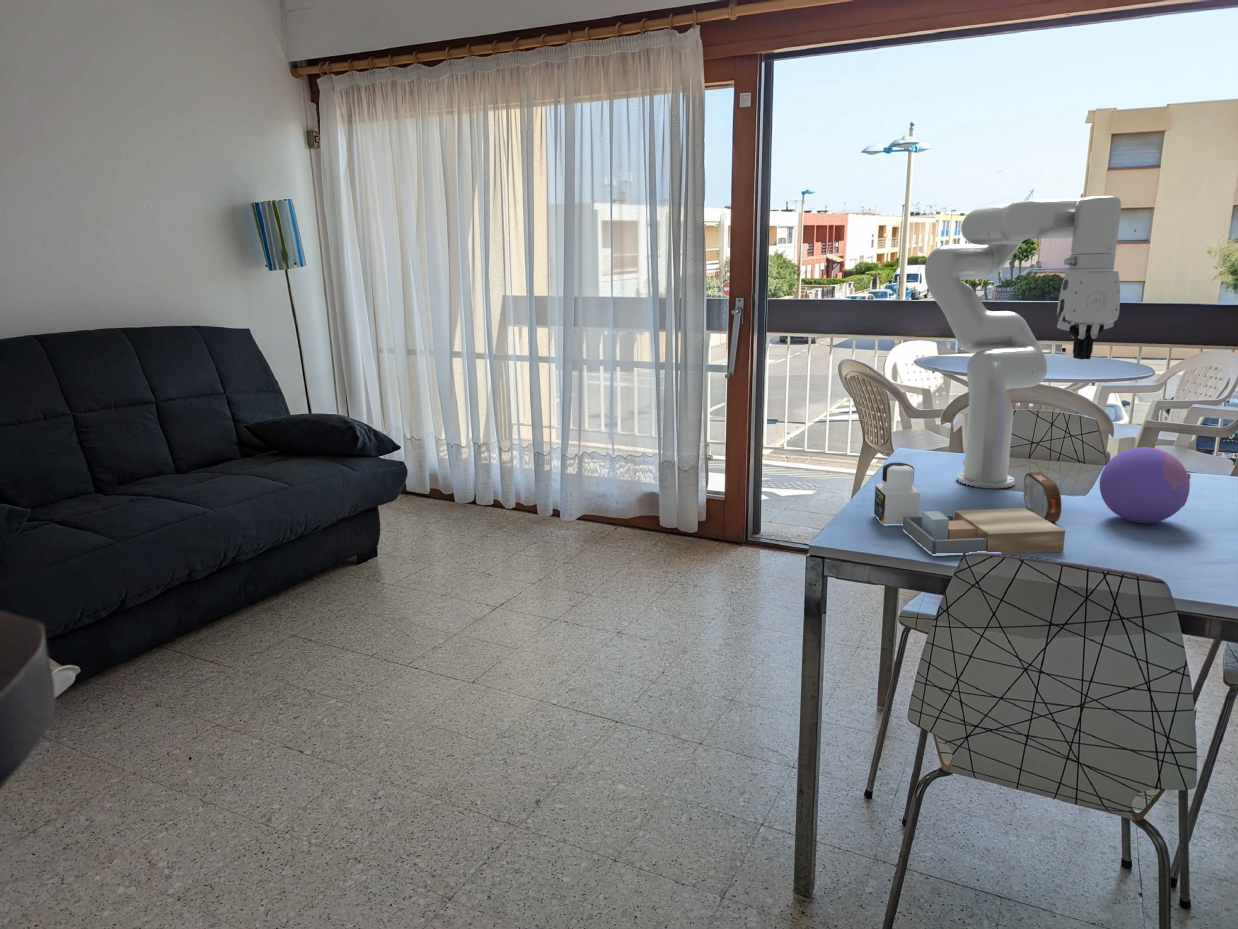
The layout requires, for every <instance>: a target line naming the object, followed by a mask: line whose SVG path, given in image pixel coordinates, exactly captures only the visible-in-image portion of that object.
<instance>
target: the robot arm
mask: <svg viewBox="0 0 1238 929" xmlns="http://www.w3.org/2000/svg"><path fill="white" fill-rule="evenodd" d="M1121 211H1122V201H1121V199H1120V197H1118V196H1116V195H1114V196H1113V195H1099V196H1087V197H1083V198H1077V197H1076V198H1040V199H1030V200H1024V201H1016V202H1011V203H1007V204H1006V203H1005V204H1001V205H991V206H984V207H979V208H976V209H975V210H972V211H971V212H969V213H968V214H967V215H966V216H965V217H964V218H963V220H962V223H961V225H960V226H961V227H960V230H961V234H962V236H963V238H964V239H965V240H966V241H967V242H968V243H959V244H958V243H957V244H955V243H953V244H948V245H947V244H946V245H943V246H940V247H937V248H935V249H934V250H932V251H931V252H930V253H929V255H928V256H927V258H926V260H925V266H924V277H925V284H926V287H927V289H928V291H929V293H930V295H931V297H932V298H933V300H934V301H935V302H936V304H937V305H938V307H939V308H940V309H941V311H942V312H943V314H944V316H945V318H946V322H947V323H948V325H949V327H950V329H951V331H952V333H953V334H954V337H955V340H957V343H958V344H959V346H960V348H961V349H962V350H964V351H965V352H967V353H970V354H971V353H974V354H973V355H972V356H970V358H969V360H968V361H967V364H966V365H967V366H966V376H967V386H968V411H967V412H968V414H967V426H966V440H965V441H966V442H965V454H964V460H963V461H962V465H963V466H964V467H963V468H964V469H963V472H959V473H957V474H956V478H957V479H956V481H957V480H958V481H959V482H958V481H957V482H958V483H960V482H961V483H960V484H962V483H963V484H962V485H964V484H966V485H965V486H968V485H970V486H969V487H972V486H974V488H979V487H980V489H981V488H982V489H1005V488H1009V487H1012V486H1014V485H1015V482H1016V481H1015V478H1014V477H1013V476H1012V475H1009V465H1010V454H1011V441H1012V434H1013V433H1012V432H1013V431H1012V430H1013V421H1014V406H1013V403H1012V401H1011V398H1010V397H1009V395H1008V392H1007V390H1012V389H1024V388H1027V389H1028V388H1032V387H1035V386H1038V385H1039V384H1041V383H1042V382H1043V381H1044V380H1045V378H1046V376H1047V373H1048V363H1047V358H1046V356H1045V354H1044V351H1043V349H1042V348H1041V346H1040V344H1039V343H1038V341H1037V339H1036V337H1035V335H1034V333H1033V332H1032V329H1031V328H1030V326H1029V324H1028V323H1027V321H1026V319H1025V318H1024V317H1022V316H1021V314H1018V313H1017V312H1014V311H1009V310H1002V311H1001V310H1000V311H996V310H995V311H992V310H988V309H987V308H986V307H985V305H984V304H983V302H982V300H981V298H980V297H979V295H978V294H977V292H976V291H974V289H972V288H971V287H970V286H968V285H967V284H965V283H964V282H963V281H970V280H971V281H972V280H973V281H974V280H987V279H991V278H993V277H995V276H996V275H997V274H998V273H1000V271H1001V270H1002V269H1003V268H1004V267H1005V265H1006V264H1007V262H1008V261H1009V260H1010V259H1011V258H1012V257H1013V255H1014V254H1015V253H1016V251H1017V250H1018V249H1019V247H1020V246H1021V244H1022V243H1023V242H1024V241H1026V240H1034V239H1070V238H1071V239H1072V241H1071V249H1070V250H1071V251H1070V254H1069V257H1067V258H1066V257H1065V259H1064V260H1063V264H1064V266H1068V269H1069V270H1068V271H1066V272H1065V274H1064V277H1063V280H1062V284H1061V286H1060V287H1061V288H1060V293H1059V297H1058V300H1057V301H1058V303H1057V310H1056V317H1057V318H1056V319H1057V320H1058V321H1057V325H1056V327H1057V329H1058V330H1063V331H1067V332H1068V333H1069V334H1070V335H1071V337H1072V339H1073V346H1072V354H1073V359H1077V360H1082V361H1083V360H1090V359H1091V357H1092V353H1093V348H1094V340H1095V339H1097V338H1098V335H1099V334H1100V333H1101V332H1102V331H1103V330H1108V329H1110V328H1113V327H1114V326H1115V325H1114V324H1115V321H1117V320H1118V319H1119V315H1120V305H1121V304H1120V303H1121V283H1120V282H1121V281H1120V273H1119V270H1116V269H1115V264H1116V255H1117V254H1116V253H1117V252H1116V251H1117V244H1118V236H1119V228H1120V218H1121Z"/></svg>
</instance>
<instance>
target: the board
mask: <svg viewBox="0 0 1238 929" xmlns="http://www.w3.org/2000/svg"><path fill="white" fill-rule="evenodd" d="M957 520H965V521H966V522H968V523H969V524H971V525H972V526H974V527H975V528H977V530H976V538H986V539H987V541H986V551H987V552H1001V553H1012V554H1013V555H1014V554H1016V555H1017V554H1040V553H1042V554H1043V553H1062V552H1064V547H1065V546H1064V545H1065V538H1066V537H1065V536H1066V530H1065V529H1063V528H1061V527H1059V526H1058V525H1056V524H1054V523H1052V522H1049V521H1047V520H1045V519H1044V518H1042V517H1040V516H1038V515H1037V514H1035V513H1033V512H1031V511H1029V510H1028V508H1027V507H1021V508H1020V507H1017V508H995V509H993V508H992V509H991V508H990V509H989V508H988V509H968V510H967V509H966V510H954V516H953V521H957ZM1012 554H1011V555H1012Z"/></svg>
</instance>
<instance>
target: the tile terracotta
mask: <svg viewBox="0 0 1238 929" xmlns="http://www.w3.org/2000/svg"><path fill="white" fill-rule="evenodd" d="M976 530H977V528H975V527H974V526H972V525H971V524H969V523H968V522H966V521H965V520H957V521H954V520H953V521H949V527H948V540H949V539H974V538H976Z"/></svg>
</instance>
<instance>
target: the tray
mask: <svg viewBox="0 0 1238 929" xmlns="http://www.w3.org/2000/svg"><path fill="white" fill-rule="evenodd" d="M943 515H944V516H946V517H947V518H948V519H949V521H954V515H953V514H946V515H945V514H943ZM921 527H922V515H919V516H912V517H903V526H902V530H903V529H904V530H905V531H906V532H907V533H908V534H909V535H911V536H912V537H913V538H914V539H915V540H916V541H917V542H918V543H920V544H921V545H922V546H923V547H925V548H926V549H927V550H928V551H930V552H931V553H932V554H936V553H963V555H965V554H966V553H969V552H977V551H986V541H987V539H986V538H974V539H949V540H935V539H933V538H932V537H931V536H930V535H928V534H927V533H926V532H925V531H924V530H922V529H921Z"/></svg>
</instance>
